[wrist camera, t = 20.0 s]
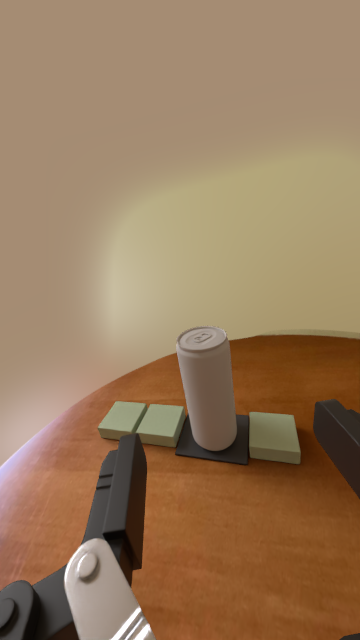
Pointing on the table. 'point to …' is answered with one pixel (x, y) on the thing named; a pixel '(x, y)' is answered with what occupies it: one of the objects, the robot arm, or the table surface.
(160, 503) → the table surface
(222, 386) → the beverage can
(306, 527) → the table surface
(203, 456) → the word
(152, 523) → the table surface
